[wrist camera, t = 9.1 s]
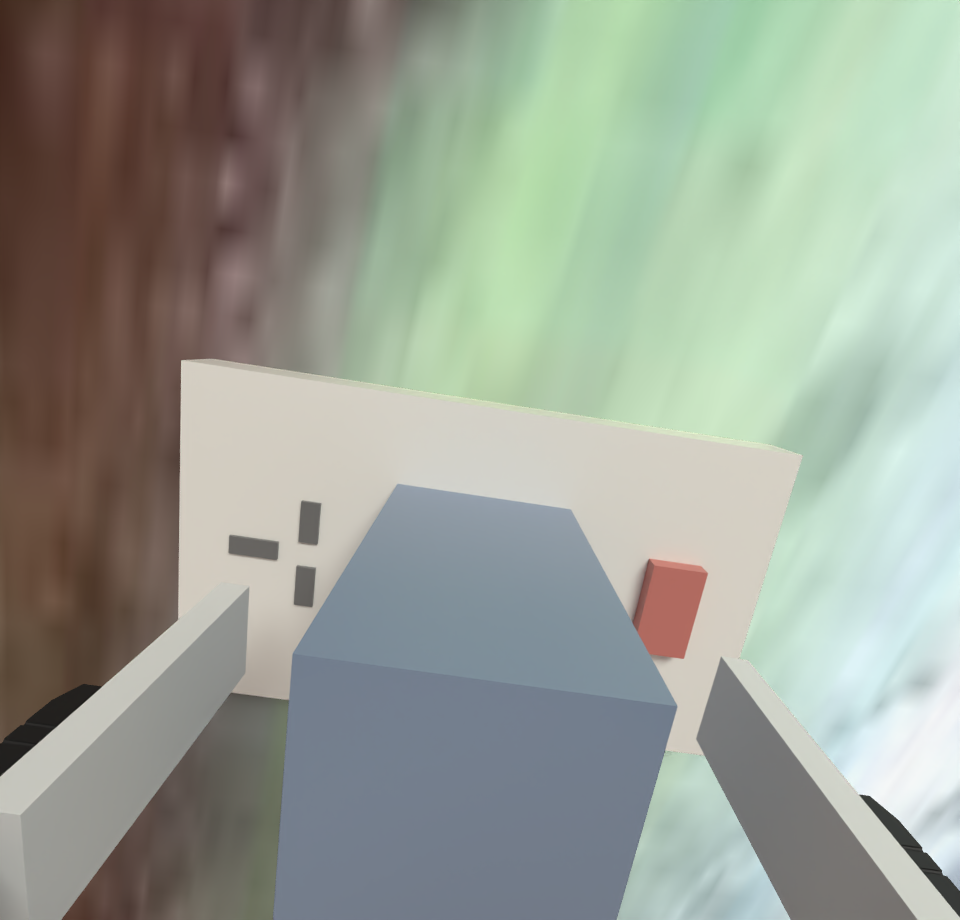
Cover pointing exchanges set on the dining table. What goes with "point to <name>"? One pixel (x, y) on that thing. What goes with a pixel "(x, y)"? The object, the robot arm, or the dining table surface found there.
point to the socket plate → (476, 471)
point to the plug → (468, 724)
